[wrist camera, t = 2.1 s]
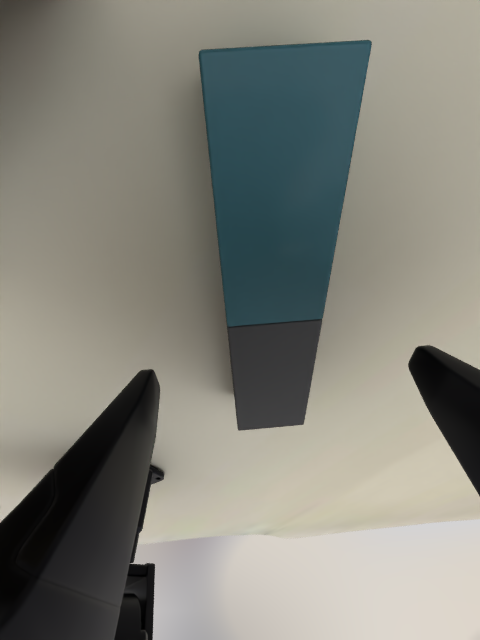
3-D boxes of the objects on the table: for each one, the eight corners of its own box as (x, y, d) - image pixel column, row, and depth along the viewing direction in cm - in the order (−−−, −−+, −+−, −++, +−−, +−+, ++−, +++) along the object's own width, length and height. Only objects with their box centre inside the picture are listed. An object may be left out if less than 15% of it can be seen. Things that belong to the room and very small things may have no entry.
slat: (294, 391, 17) (303, 425, 15) (235, 396, 17) (238, 431, 15) (334, 61, 8) (374, 38, 6) (203, 69, 8) (197, 48, 6)
